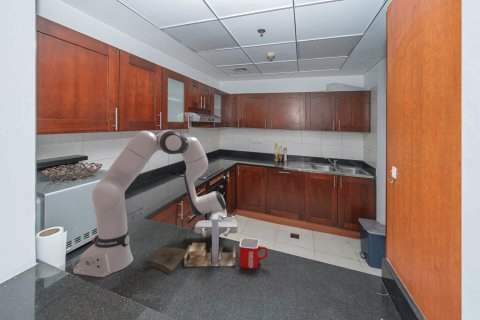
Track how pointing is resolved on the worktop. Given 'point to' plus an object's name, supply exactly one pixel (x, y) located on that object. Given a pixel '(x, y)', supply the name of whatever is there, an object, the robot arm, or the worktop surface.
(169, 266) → the brown flat slab
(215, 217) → the tall board
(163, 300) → the worktop surface
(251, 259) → the mug
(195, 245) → the offcut stack
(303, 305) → the worktop surface
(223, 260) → the offcut rack
